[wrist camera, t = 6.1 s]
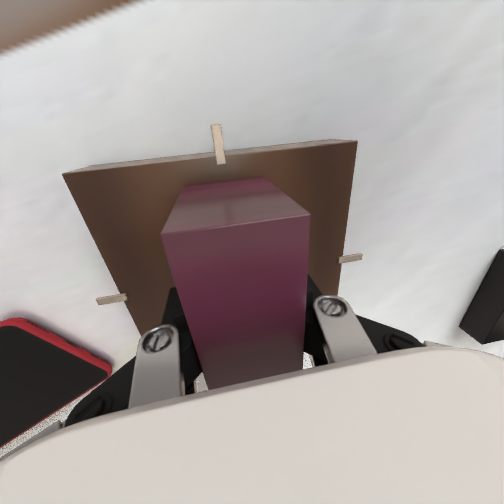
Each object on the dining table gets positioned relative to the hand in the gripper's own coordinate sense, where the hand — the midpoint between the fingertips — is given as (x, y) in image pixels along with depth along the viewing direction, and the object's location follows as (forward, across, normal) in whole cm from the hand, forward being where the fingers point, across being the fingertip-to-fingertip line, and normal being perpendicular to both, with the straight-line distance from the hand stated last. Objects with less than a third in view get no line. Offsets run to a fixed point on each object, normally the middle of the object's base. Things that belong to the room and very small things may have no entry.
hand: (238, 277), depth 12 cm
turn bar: (0, 0, 0) cm, 0 cm away
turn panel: (+3, 0, 0) cm, 3 cm away
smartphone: (+3, +18, +8) cm, 20 cm away
